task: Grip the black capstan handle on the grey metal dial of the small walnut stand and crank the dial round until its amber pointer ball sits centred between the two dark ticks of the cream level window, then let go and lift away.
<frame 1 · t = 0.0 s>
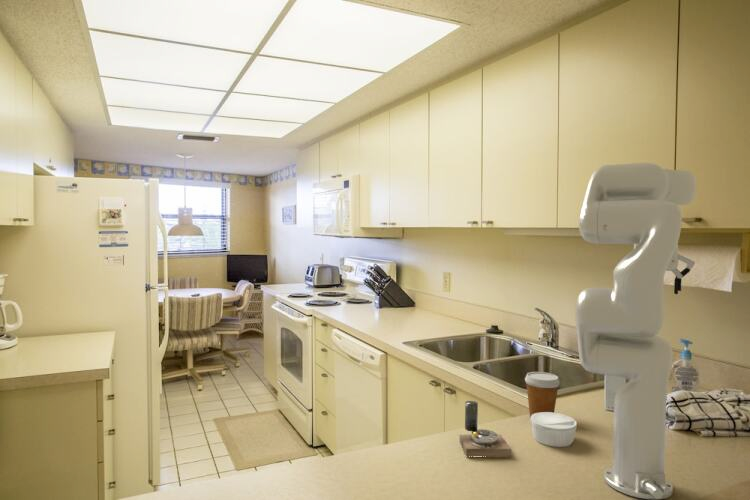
hand: (654, 292, 130), 37 cm above the countertop, tool pointing down, fingers open, 9 cm apart
level stand: (484, 449, 120), on the countertop
ramekin: (553, 440, 127), on the countertop
capstan dial: (479, 422, 121), point 6 cm above the countertop, hinge at -50.0°
skincare box: (614, 408, 151), on the countertop
disposable coffee cup: (541, 418, 142), on the countertop
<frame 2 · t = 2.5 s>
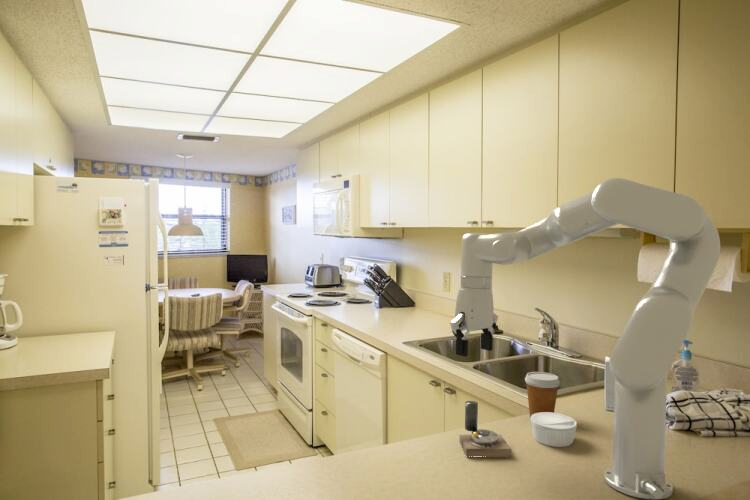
hand: (474, 352, 123), 23 cm above the countertop, tool pointing down, fingers open, 9 cm apart
nothing on the countertop moved.
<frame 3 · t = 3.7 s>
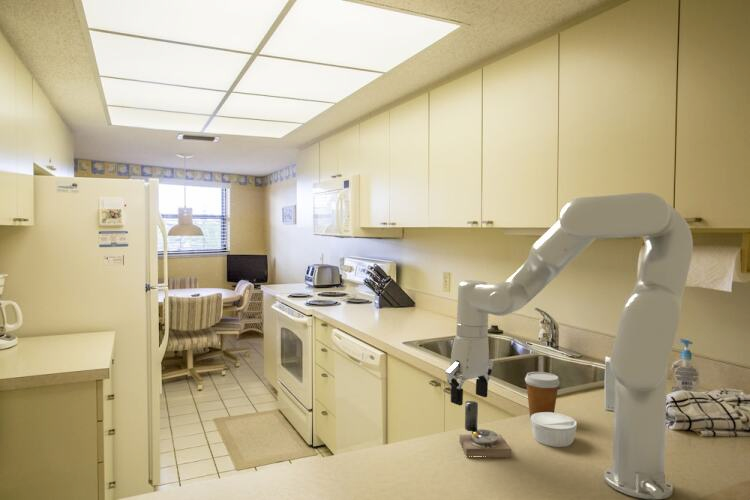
hand: (469, 399, 123), 11 cm above the countertop, tool pointing down, fingers open, 9 cm apart
nothing on the countertop moved.
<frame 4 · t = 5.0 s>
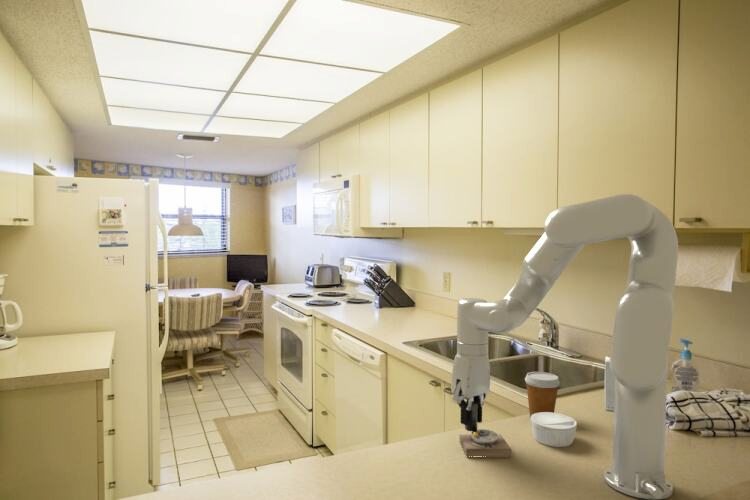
hand: (471, 422, 123), 6 cm above the countertop, tool pointing down, fingers closed on capstan dial, 3 cm apart
capstan dial: (479, 422, 121), point 6 cm above the countertop, hinge at -50.0°, touching gripper
everything else where it was.
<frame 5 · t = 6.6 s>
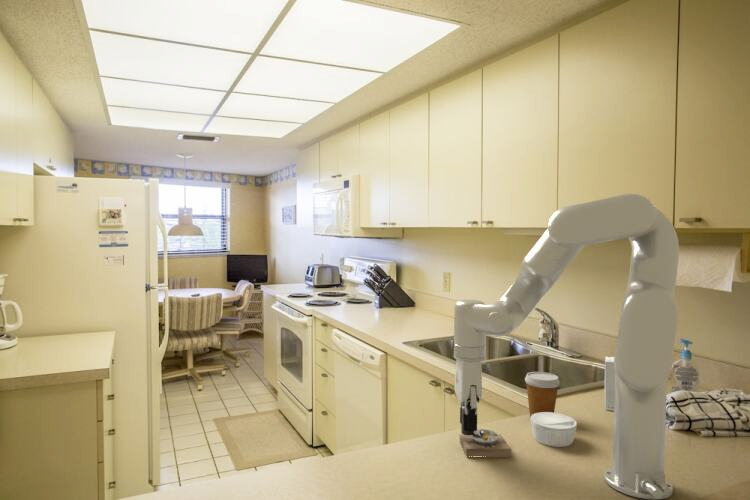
hand: (468, 426, 121), 6 cm above the countertop, tool pointing down, fingers open, 3 cm apart
capstan dial: (479, 424, 120), point 6 cm above the countertop, hinge at -8.1°, touching gripper
everything else where it was.
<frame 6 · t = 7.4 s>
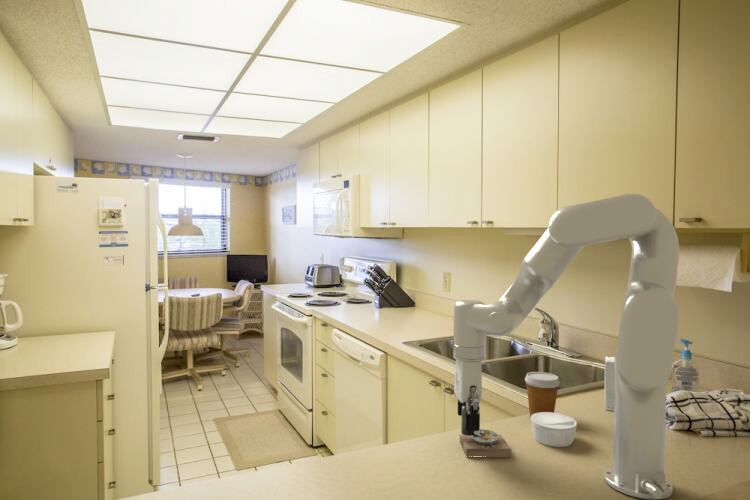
hand: (468, 422, 120), 7 cm above the countertop, tool pointing down, fingers open, 9 cm apart
capstan dial: (479, 424, 120), point 6 cm above the countertop, hinge at -5.8°
everything else where it was.
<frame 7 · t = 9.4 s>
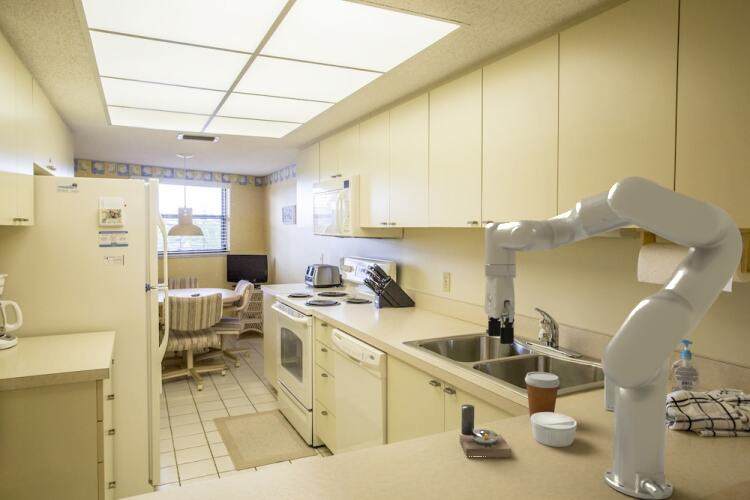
hand: (500, 339, 125), 26 cm above the countertop, tool pointing down, fingers open, 9 cm apart
nothing on the countertop moved.
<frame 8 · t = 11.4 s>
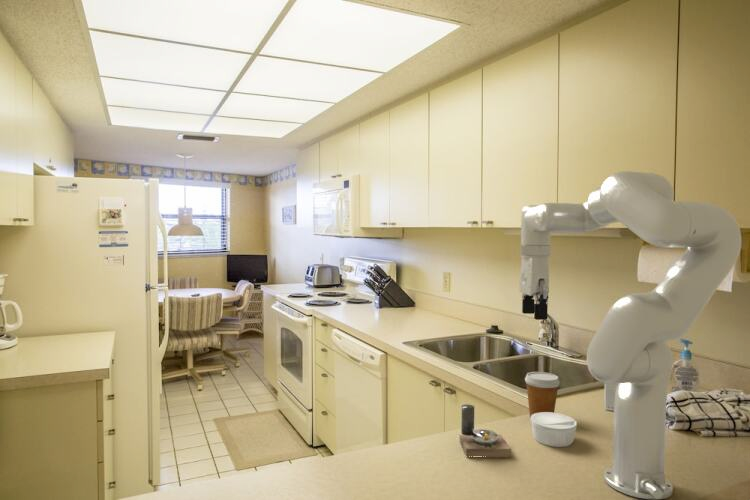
hand: (534, 316, 133), 30 cm above the countertop, tool pointing down, fingers open, 9 cm apart
nothing on the countertop moved.
at the end: capstan dial at -6° (first picture: -50°); ramekin moved 0.3 cm from its start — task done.
